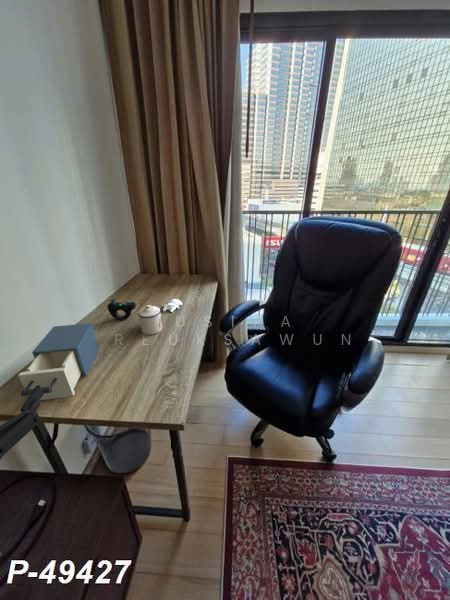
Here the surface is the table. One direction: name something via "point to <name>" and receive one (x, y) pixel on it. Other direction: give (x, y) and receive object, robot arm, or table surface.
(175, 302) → the astronaut figurine
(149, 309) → the teacup with lid
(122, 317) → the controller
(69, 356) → the drawer
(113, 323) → the table surface
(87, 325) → the blue cabinet box
